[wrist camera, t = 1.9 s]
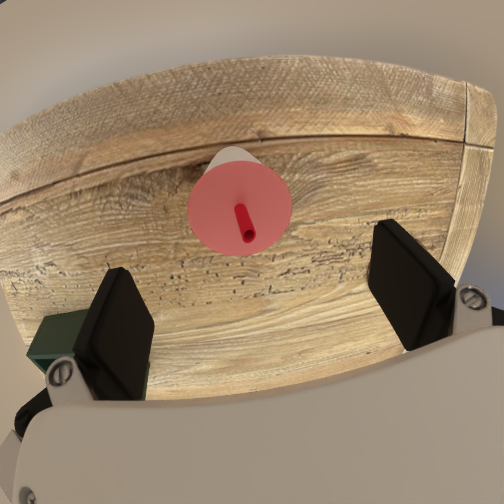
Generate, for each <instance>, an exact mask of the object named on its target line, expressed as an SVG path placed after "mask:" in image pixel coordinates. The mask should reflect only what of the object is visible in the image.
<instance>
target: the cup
mask: <svg viewBox="0 0 504 504" xmlns="http://www.w3.org/2000/svg"><path fill="white" fill-rule="evenodd" d="M187 213H188V220H189V223H190V226H191V228H192V230H193V232H194V234H195V235H196V237H197V238H198V239H199V240H200V241H201V242H202V243H203V244H204V245H205V246H207V247H208V248H210V249H212V250H214V251H216V252H218V253H221V254H225V255H230V256H246V255H251V254H255V253H258V252H260V251H263V250H265V249H266V248H268V247H270V246H271V245H272V244H274V243H275V242H276V241H277V240H278V239H279V238H280V237H281V236H282V235H283V233H284V232H285V230H286V228H287V226H288V224H289V222H290V218H291V214H292V200H291V195H290V192H289V190H288V187H287V185H286V184H285V182H284V181H283V179H282V178H281V177H280V176H279V175H278V174H277V173H276V172H274V171H273V170H272V169H270V168H268V167H267V166H265V165H263V164H262V163H261V162H260V161H258V160H257V159H256V158H255V157H254V156H252V155H251V154H250V153H249V152H247V151H246V150H244V149H243V148H240V147H236V146H230V147H226V148H223V149H221V150H220V151H219V152H218V153H217V154H216V155H215V156H214V158H213V159H212V161H211V162H210V164H209V166H208V167H207V169H206V171H205V173H204V174H203V176H202V177H201V178H200V179H199V180H198V181H197V183H196V184H195V186H194V187H193V189H192V191H191V194H190V197H189V200H188V207H187Z"/></svg>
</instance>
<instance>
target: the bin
mask: <svg viewBox="0 0 504 504" xmlns="http://www.w3.org/2000/svg"><path fill="white" fill-rule="evenodd" d="M88 310H89V309H86V310H81V311H75V312H70V313H64V314H59V315H53V316H47V317H44V319H43V321H42V322H41V324H40V326H39V328H38V331H37V333H36V335H35V337H34V339H33V341H32V343H31V345H30V348H29V350H28V352H27V354H26V355H27V357H28V358H29V359H30V360H31V361H32V362H33V363H34V364H35V365H36V366H37V367H38V368H39V369H40V370H41V371H42V372H43V373H44V374H45V375H46V372H47V370H48V368H49V367H50V365H51V364H52V363H53V362H54V361H55V360H56V359H58V358H60V357H64V356H70V357H72V358H73V357H74V355H75V353H74V352H73V351H72V348H73V346H74V343H75V341H76V338H77V336H78V333H79V331H80V329H81V326H82V324H83V322H84V319H85V317H86V315H87V313H88ZM149 367H150V363H149V362H148V365H147V371H146V377H145V384H144V390H143V397H142V399H141V400H139V401H145V397H146V389H147V381H148V374H149Z"/></svg>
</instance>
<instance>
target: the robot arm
mask: <svg viewBox="0 0 504 504" xmlns="http://www.w3.org/2000/svg"><path fill="white" fill-rule="evenodd" d="M454 283H455V280H454V279H453V278H452V277H451V276H450V274H449V273H448V272H447V271H446V270H445V269H444V268H443V267H442V266H441V265H440V264H439V263H438V262H437V261H436V260H435V259H434V258H433V257H432V256H431V255H430V254H429V253H428V251H427V250H425V249H424V248H423V247H422V246H421V245H420V244H419V243H418V242H417V241H416V240H415V239H414V238H413V237H412V236H411V235H410V234H409V233H408V232H407V231H406V230H405V229H404V228H403V227H401V226H400V225H399V224H398V223H397V222H396V221H395V220H394V219H387V220H381V221H379V222H378V223H377V225H375V226H374V231H373V242H372V252H371V261H370V269H369V277H368V286H369V289H370V291H371V292H372V294H373V296H374V297H375V299H376V300H377V302H378V304H379V305H380V307H381V308H382V310H383V312H384V313H385V315H386V317H387V318H388V320H389V322H390V323H391V325H392V327H393V329H394V330H395V332H396V334H397V336H398V337H399V339H400V341H401V343H402V344H403V346H404V348H405V349H406V350H407V351H410V352H407V353H404V354H401V355H399V356H396V357H393V358H390V359H387V360H384V361H381V362H378V363H375V364H372V365H368V366H365V367H362V368H358V369H355V370H351V371H348V372H344V373H340V374H337V375H333V376H329V377H325V378H321V379H317V380H312V381H308V382H303V383H299V384H294V385H289V386H284V387H278V388H273V389H267V390H261V391H255V392H248V393H241V394H233V395H225V396H216V397H206V398H194V399H179V400H153V401H139V400H141V399H142V397H143V390H144V384H145V377H146V371H147V365H148V360H149V354H150V349H151V343H152V338H153V333H154V321H153V318H152V317H151V315H150V313H149V311H148V309H147V307H146V305H145V303H144V301H143V299H142V297H141V295H140V293H139V291H138V289H137V287H136V285H135V283H134V280H133V278H132V276H131V274H130V272H129V271H128V270H125V269H124V268H123V267H119V268H113V269H109V270H108V271H107V273H106V275H105V277H104V279H103V281H102V283H101V285H100V287H99V289H98V291H97V293H96V295H95V297H94V299H93V302H92V304H91V306H90V308H89V310H88V313H87V315H86V317H85V319H84V322H83V324H82V326H81V329H80V331H79V333H78V336H77V338H76V341H75V343H74V346H73V348H72V351H73V352H74V353H75V355H74V357H73V358H72V357H70V356H64V357H60V358H58V359H56V360H55V361H54V362H53V363H52V364H51V365H50V367H49V368H48V370H47V372H46V377H45V381H46V386H47V387H46V388H45V389H43V390H42V391H41V392H40V393H39V394H37V395H36V396H35V397H34V398H32V399H31V400H30V401H29V402H27V403H26V404H25V405H24V406H22V407H21V409H20V410H19V411H18V412H17V414H16V417H15V423H14V425H15V430H16V431H14V430H13V429H12V430H11V432H10V433H9V435H8V436H7V437H6V439H5V441H4V442H3V443H2V445H1V446H0V486H1V487H2V489H3V491H4V492H5V494H6V496H7V497H8V499H9V500H10V502H11V503H12V504H504V311H503V310H500V309H497V308H494V307H491V301H490V298H489V296H488V294H487V293H486V292H485V291H484V290H483V289H481V288H480V287H478V286H476V285H473V284H462V285H461V286H459V287H458V288H457V289H456V288H455V287H454Z"/></svg>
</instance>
